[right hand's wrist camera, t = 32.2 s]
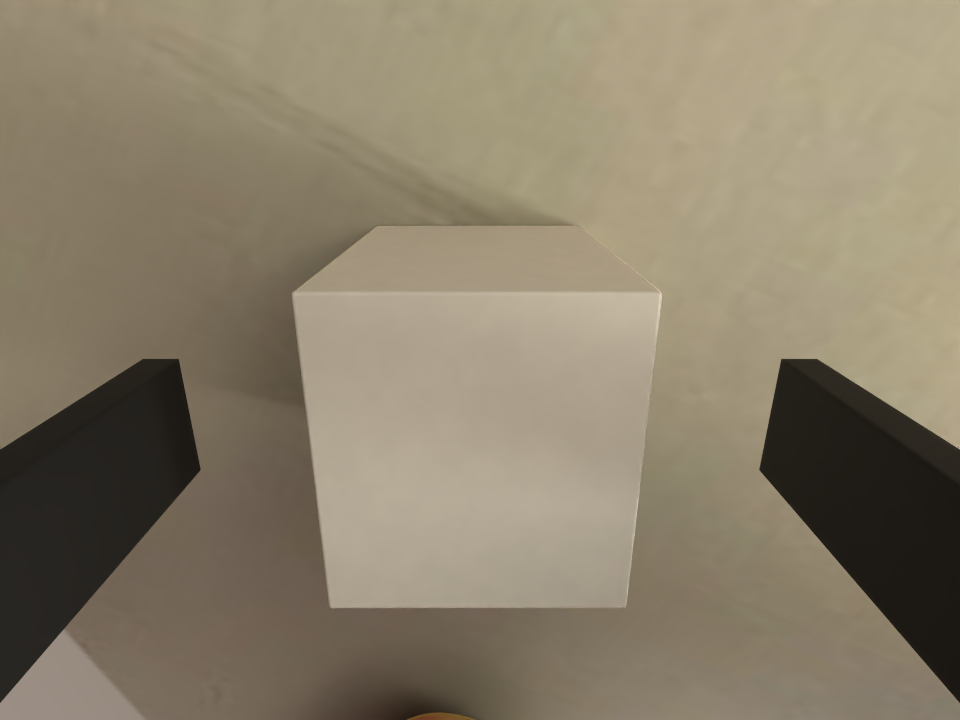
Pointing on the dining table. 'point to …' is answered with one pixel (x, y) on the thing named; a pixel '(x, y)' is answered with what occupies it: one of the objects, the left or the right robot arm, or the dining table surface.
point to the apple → (440, 716)
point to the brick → (477, 416)
